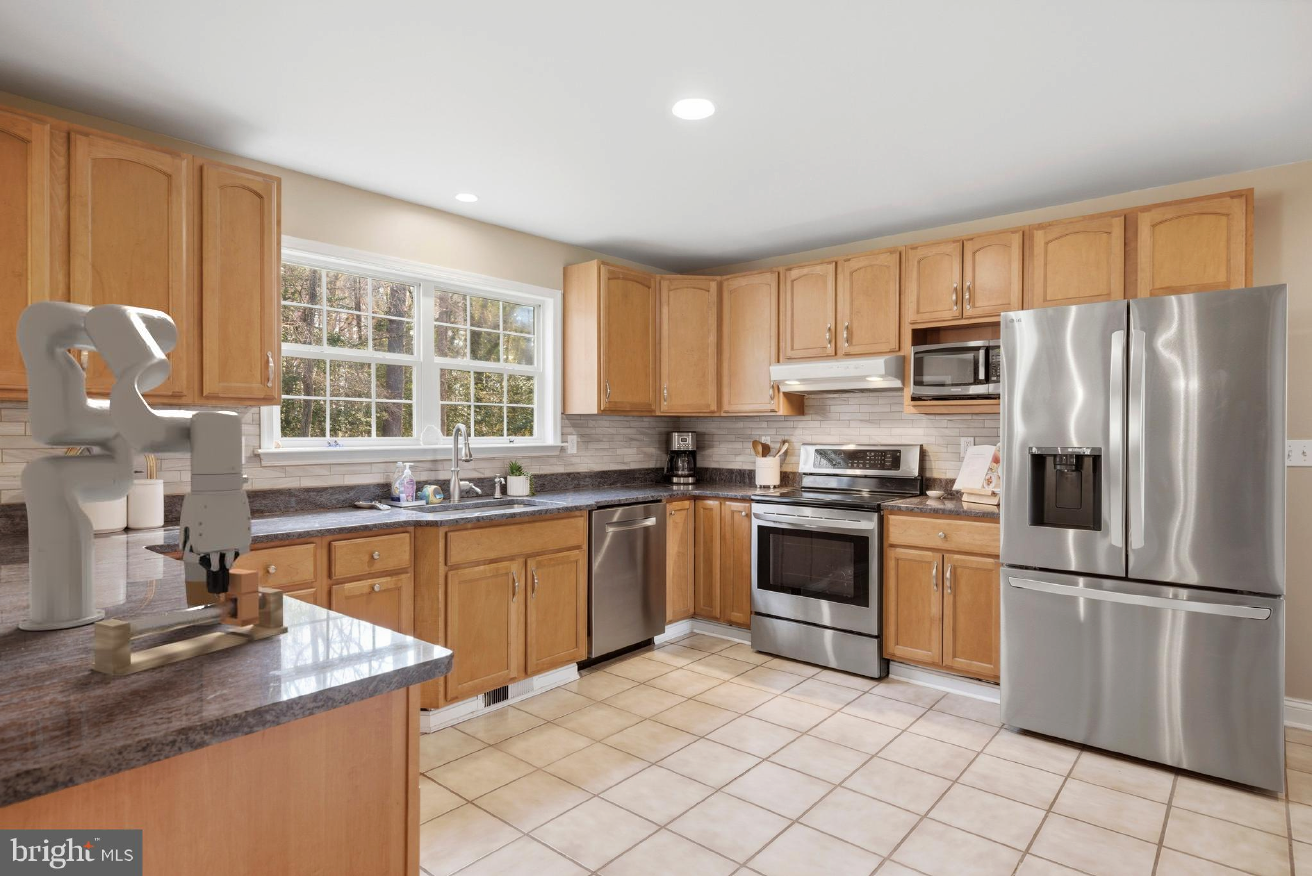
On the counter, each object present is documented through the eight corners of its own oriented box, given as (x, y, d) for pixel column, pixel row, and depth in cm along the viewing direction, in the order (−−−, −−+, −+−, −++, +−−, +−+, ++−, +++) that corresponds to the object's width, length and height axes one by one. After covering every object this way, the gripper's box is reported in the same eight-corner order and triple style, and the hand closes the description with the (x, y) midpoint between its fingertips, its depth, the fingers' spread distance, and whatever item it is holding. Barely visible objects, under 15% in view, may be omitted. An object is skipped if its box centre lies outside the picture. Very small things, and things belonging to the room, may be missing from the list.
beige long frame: (118, 676, 107) (117, 627, 107) (89, 668, 110) (89, 621, 110) (288, 631, 131) (288, 591, 131) (260, 625, 135) (260, 586, 135)
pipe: (118, 646, 109) (118, 624, 109) (106, 643, 110) (106, 622, 110) (273, 609, 131) (273, 591, 131) (262, 607, 133) (262, 590, 133)
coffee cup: (210, 628, 133) (209, 546, 133) (171, 626, 135) (170, 544, 135) (244, 616, 142) (244, 539, 142) (207, 614, 143) (207, 538, 143)
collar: (242, 627, 124) (241, 574, 124) (220, 623, 127) (220, 571, 127) (258, 623, 127) (258, 571, 127) (237, 619, 130) (236, 568, 130)
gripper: (245, 481, 132) (246, 582, 132) (157, 486, 119) (158, 599, 119) (272, 482, 129) (273, 586, 129) (184, 488, 115) (185, 604, 115)
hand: (218, 592), depth 124 cm, fingers closed
